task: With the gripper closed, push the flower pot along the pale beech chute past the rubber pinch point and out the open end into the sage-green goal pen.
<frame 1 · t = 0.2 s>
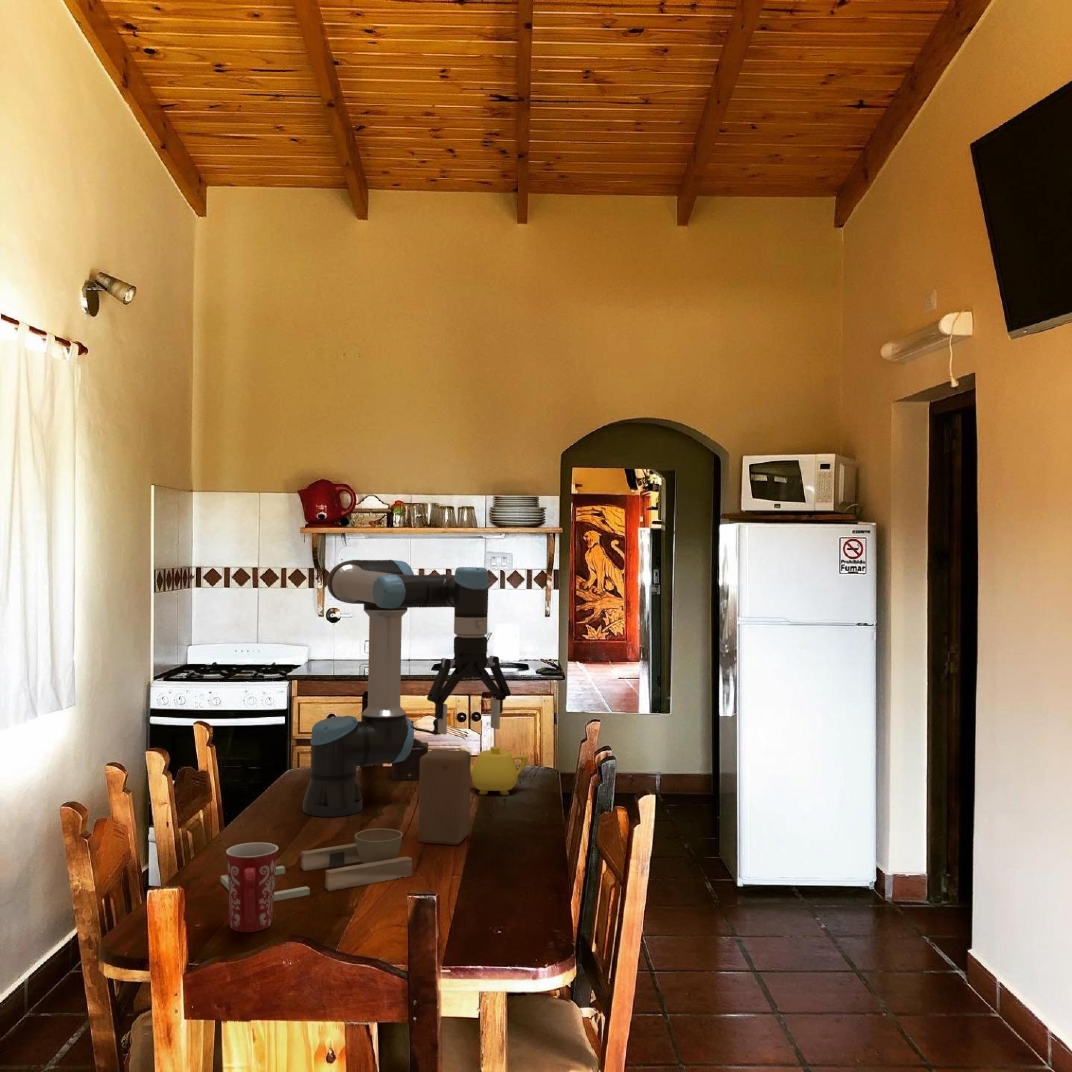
hand: (469, 731, 219), 27 cm above the table, fingers open, 13 cm apart
chute: (356, 872, 204), on the table
wooden block: (444, 839, 229), on the table
flower pot: (378, 869, 207), on the table
teapot: (491, 791, 275), on the table
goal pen: (266, 887, 194), on the table
mug: (249, 929, 173), on the table
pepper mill: (418, 777, 292), on the table
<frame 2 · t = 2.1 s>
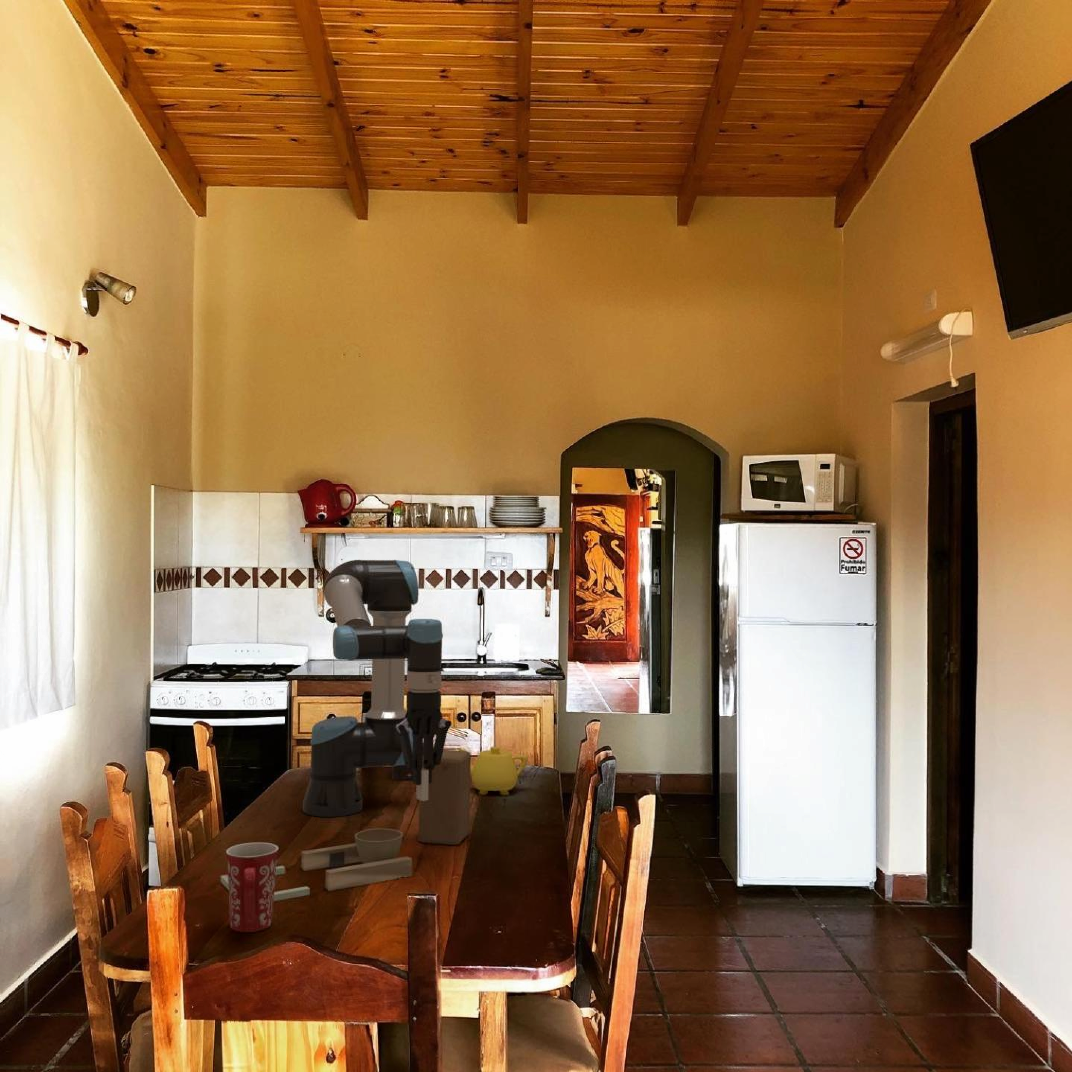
hand: (422, 799, 212), 13 cm above the table, fingers closed
nothing on the table moved.
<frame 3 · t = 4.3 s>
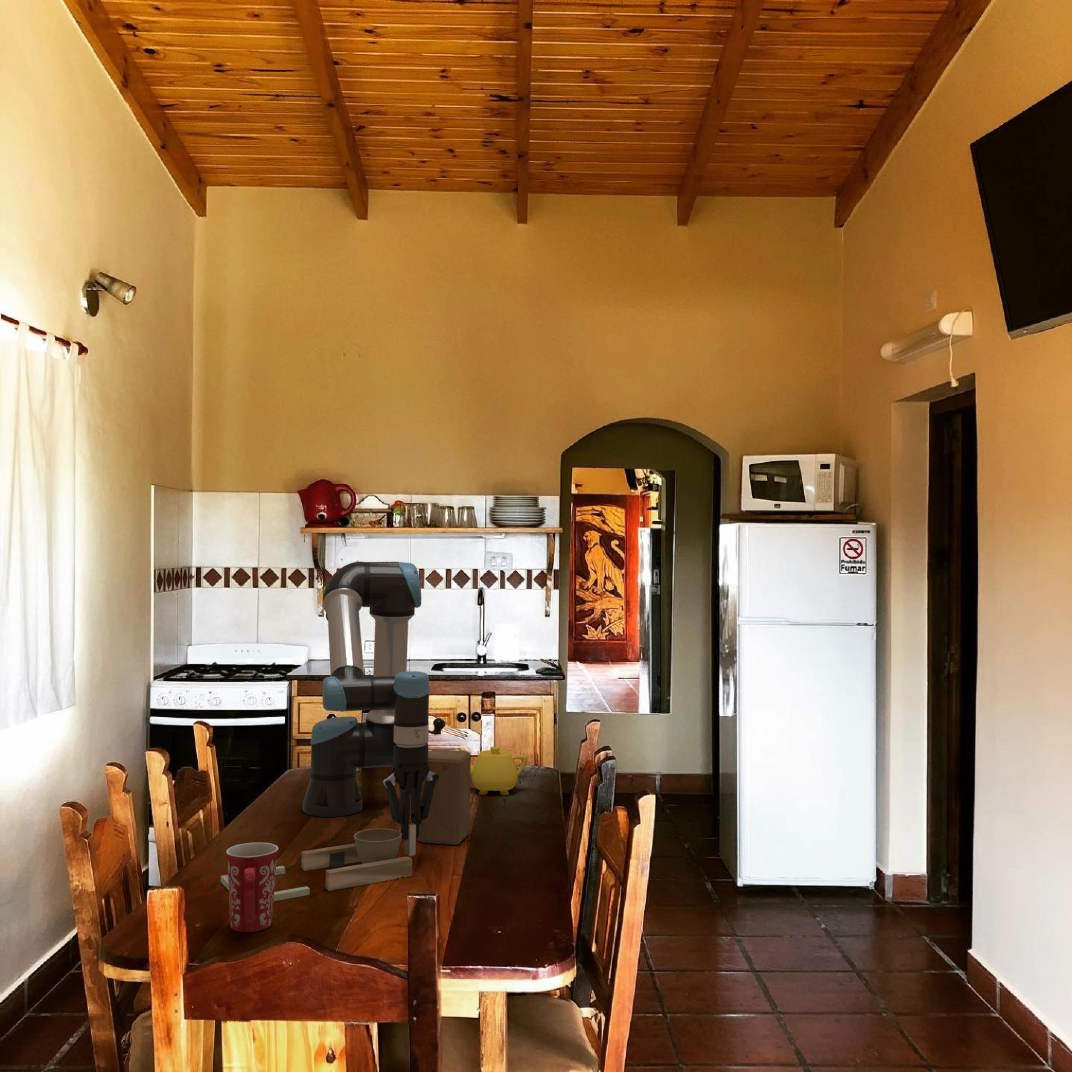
hand: (409, 853, 211), 2 cm above the table, fingers closed
flower pot: (377, 869, 207), on the table, touching gripper
everything else where it was.
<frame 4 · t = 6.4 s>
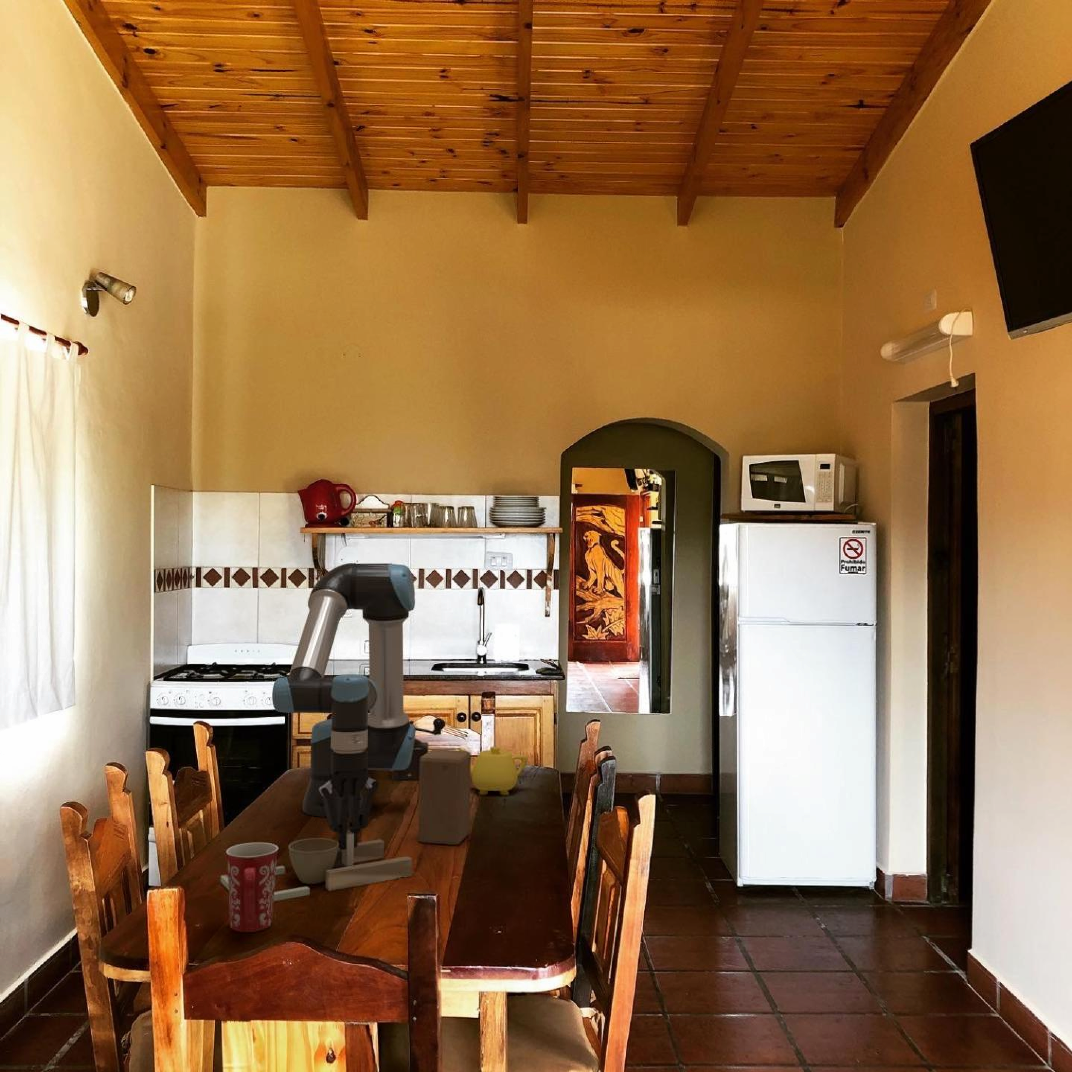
hand: (347, 863, 203), 2 cm above the table, fingers closed
flower pot: (313, 880, 199), on the table, touching gripper
everything else where it was.
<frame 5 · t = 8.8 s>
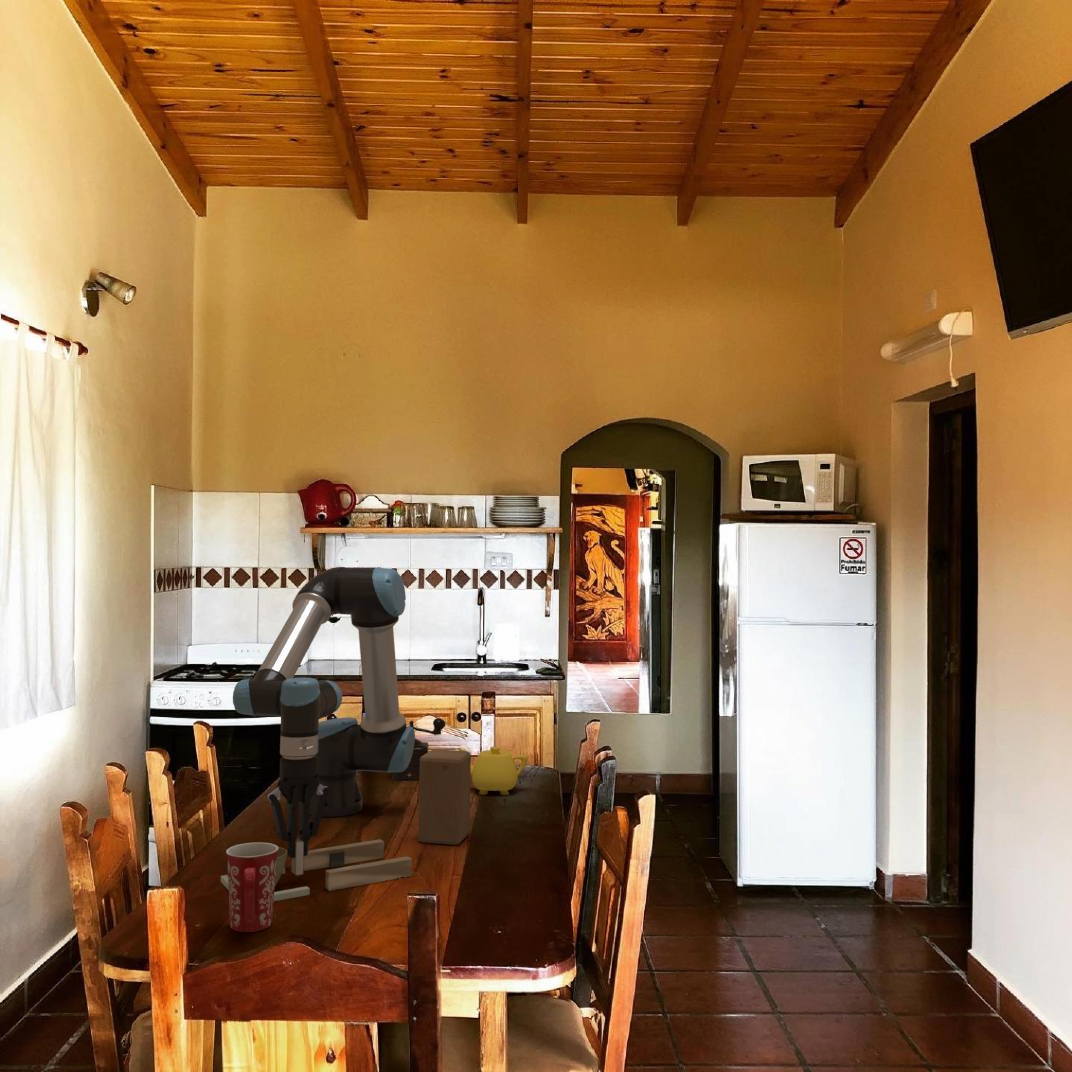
hand: (297, 872, 197), 2 cm above the table, fingers closed
flower pot: (260, 890, 193), on the table, touching gripper
everything else where it was.
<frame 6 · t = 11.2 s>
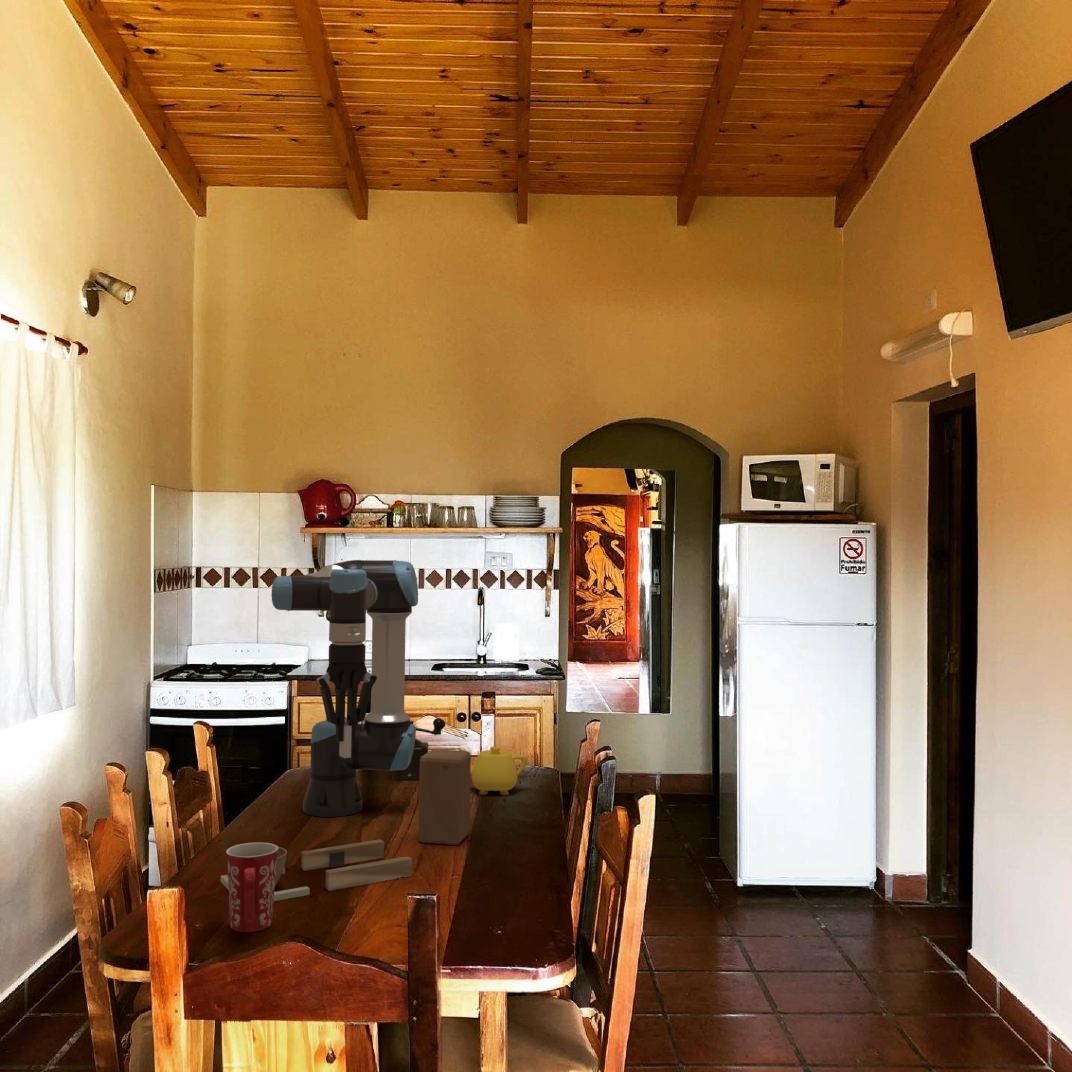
hand: (345, 756, 203), 24 cm above the table, fingers closed
flower pot: (260, 890, 193), on the table
everything else where it was.
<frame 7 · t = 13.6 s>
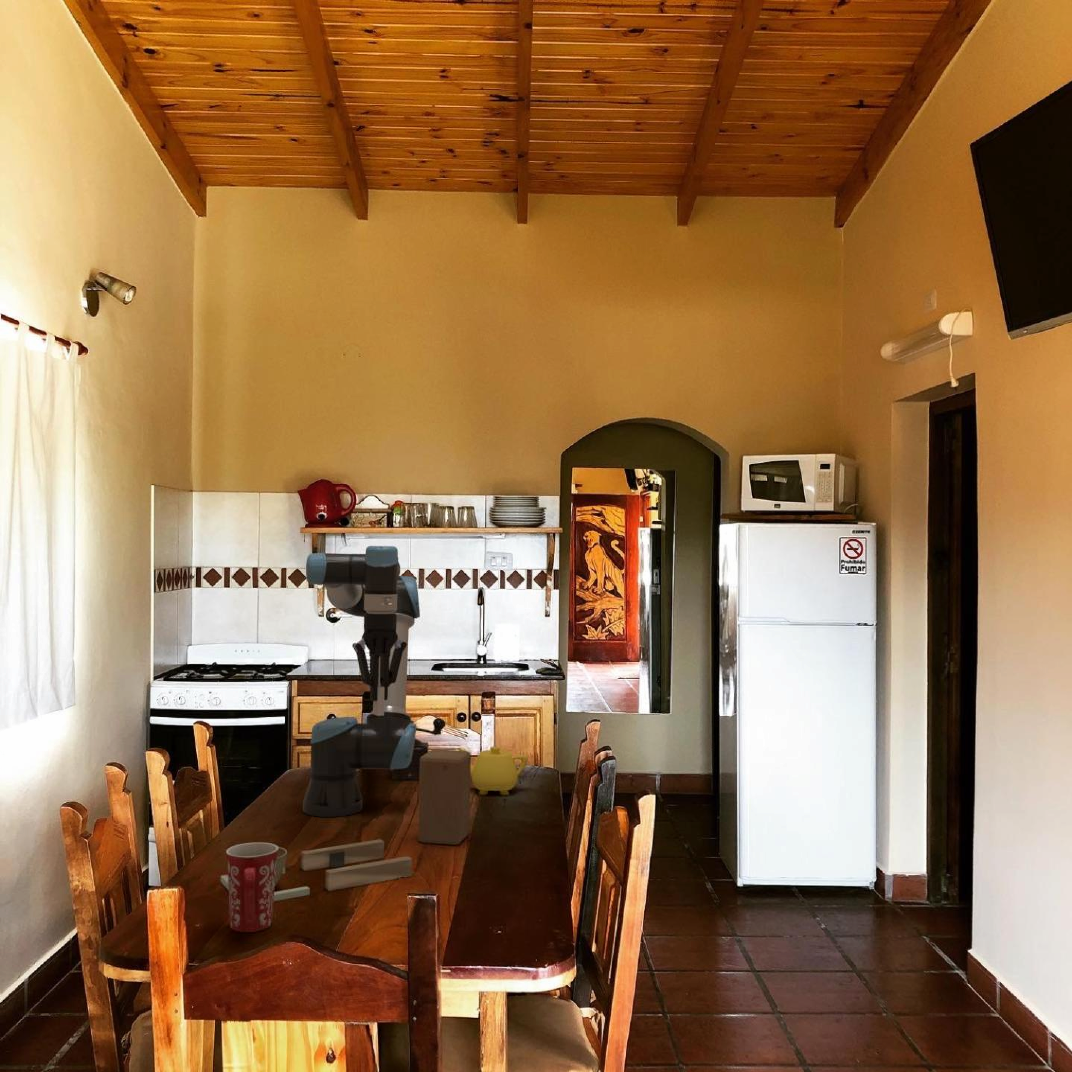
hand: (378, 714, 225), 29 cm above the table, fingers closed
nothing on the table moved.
at the end: flower pot inside the target area (1.5 cm from its centre), on the table; flower pot tilted 0°; flower pot touching table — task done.
